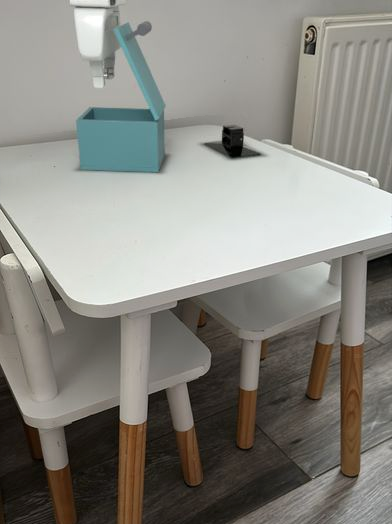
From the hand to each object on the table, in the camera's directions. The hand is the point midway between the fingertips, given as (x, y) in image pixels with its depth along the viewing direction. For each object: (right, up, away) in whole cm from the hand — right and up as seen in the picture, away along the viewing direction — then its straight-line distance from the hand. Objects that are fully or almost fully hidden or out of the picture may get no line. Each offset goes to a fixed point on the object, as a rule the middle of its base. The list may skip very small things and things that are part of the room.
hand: (104, 82), depth 101 cm
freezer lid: (+7, +1, -1) cm, 7 cm away
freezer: (+3, -12, +8) cm, 14 cm away
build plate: (+24, -6, +17) cm, 30 cm away
